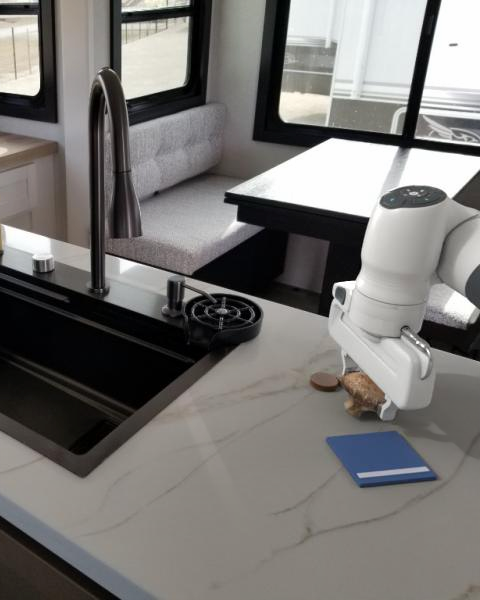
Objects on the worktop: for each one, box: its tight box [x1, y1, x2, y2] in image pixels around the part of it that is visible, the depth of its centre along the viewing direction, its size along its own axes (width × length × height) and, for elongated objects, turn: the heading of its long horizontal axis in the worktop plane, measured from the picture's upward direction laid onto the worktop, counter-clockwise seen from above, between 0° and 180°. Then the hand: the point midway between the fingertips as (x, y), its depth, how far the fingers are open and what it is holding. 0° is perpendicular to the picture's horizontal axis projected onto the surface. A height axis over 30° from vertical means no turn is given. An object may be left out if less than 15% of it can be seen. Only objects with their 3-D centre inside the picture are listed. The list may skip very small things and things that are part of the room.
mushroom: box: [341, 371, 387, 419], centre depth 90 cm, size 8×8×6 cm
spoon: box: [309, 371, 344, 393], centre depth 98 cm, size 14×4×1 cm, turn 97°
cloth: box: [325, 430, 438, 488], centre depth 82 cm, size 10×9×1 cm
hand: (366, 396), depth 90 cm, fingers closed on mushroom, 8 cm apart
